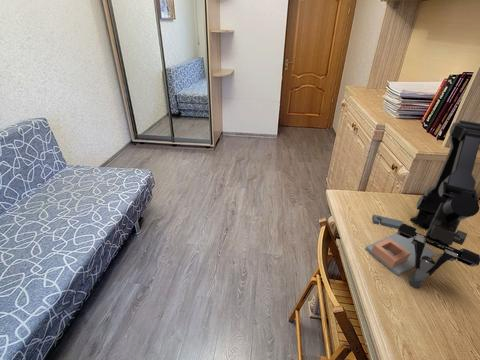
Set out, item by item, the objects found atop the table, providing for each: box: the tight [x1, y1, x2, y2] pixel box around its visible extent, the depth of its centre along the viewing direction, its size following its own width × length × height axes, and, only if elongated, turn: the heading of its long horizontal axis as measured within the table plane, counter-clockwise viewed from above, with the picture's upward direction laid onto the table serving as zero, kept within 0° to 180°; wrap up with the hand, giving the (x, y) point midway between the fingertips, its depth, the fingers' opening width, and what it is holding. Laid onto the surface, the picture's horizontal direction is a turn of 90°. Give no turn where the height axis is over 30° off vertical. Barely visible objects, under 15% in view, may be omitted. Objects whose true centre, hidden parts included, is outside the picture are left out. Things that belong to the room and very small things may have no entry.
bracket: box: [371, 214, 404, 230], centre depth 99 cm, size 4×10×2 cm, turn 70°
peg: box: [408, 256, 436, 289], centre depth 74 cm, size 3×3×10 cm
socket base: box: [364, 232, 437, 277], centre depth 86 cm, size 19×12×4 cm, turn 117°
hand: (422, 271), depth 72 cm, fingers closed on peg, 3 cm apart
